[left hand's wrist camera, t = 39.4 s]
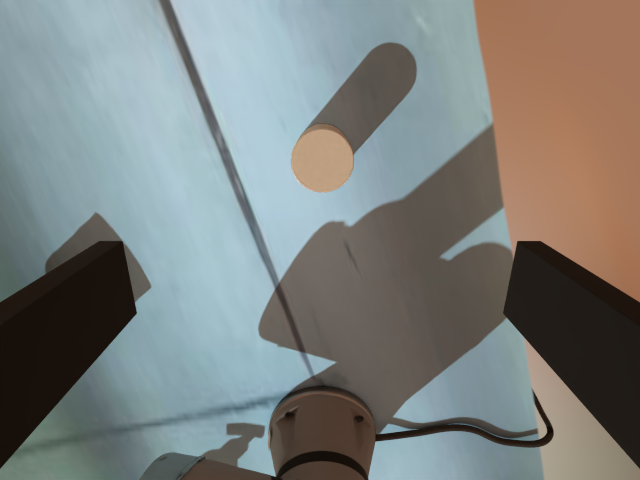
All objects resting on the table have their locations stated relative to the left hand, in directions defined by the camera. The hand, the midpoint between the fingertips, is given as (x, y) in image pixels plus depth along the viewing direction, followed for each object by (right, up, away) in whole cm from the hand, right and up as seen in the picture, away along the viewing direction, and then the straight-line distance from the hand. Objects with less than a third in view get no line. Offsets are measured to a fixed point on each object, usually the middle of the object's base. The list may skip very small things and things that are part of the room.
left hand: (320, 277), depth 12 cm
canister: (0, +11, +27) cm, 29 cm away
